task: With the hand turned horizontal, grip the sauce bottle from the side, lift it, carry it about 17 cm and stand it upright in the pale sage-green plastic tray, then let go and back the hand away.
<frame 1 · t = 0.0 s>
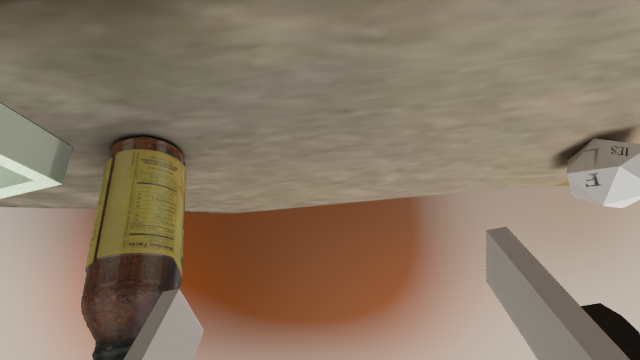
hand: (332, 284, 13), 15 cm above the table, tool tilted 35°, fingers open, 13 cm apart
sauce bottle: (151, 151, 29), on the table
die: (590, 146, 41), on the table
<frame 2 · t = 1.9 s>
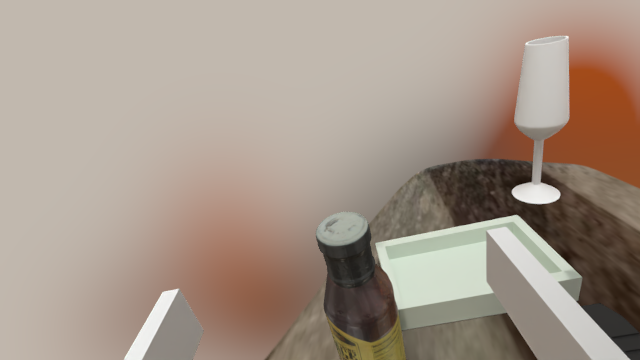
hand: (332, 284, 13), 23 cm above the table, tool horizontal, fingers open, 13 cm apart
tray: (463, 277, 41), on the table
champagne flute: (535, 193, 53), on the table
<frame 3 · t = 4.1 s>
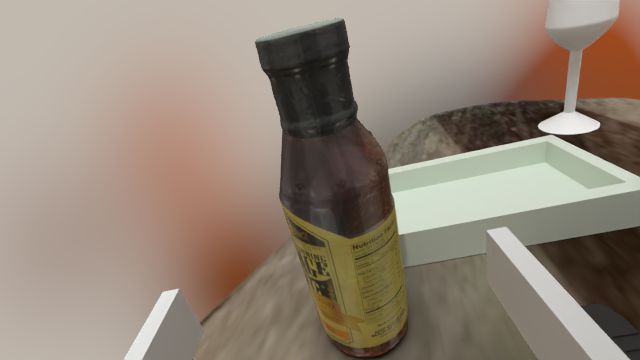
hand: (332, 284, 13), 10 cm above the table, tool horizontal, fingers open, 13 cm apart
sauce bottle: (368, 326, 23), on the table
tray: (482, 209, 31), on the table
champagne flute: (567, 126, 43), on the table
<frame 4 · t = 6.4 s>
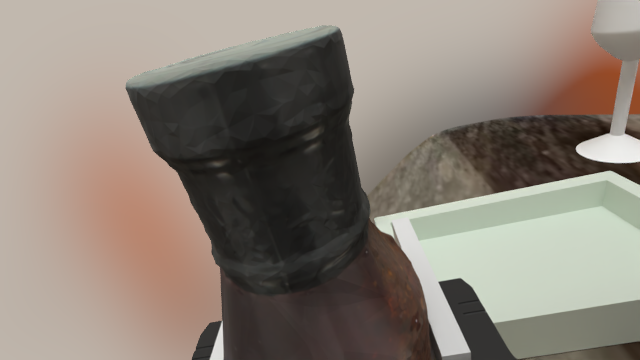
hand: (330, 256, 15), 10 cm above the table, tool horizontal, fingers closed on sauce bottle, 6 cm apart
tray: (527, 274, 23), on the table
champagne flute: (613, 151, 35), on the table
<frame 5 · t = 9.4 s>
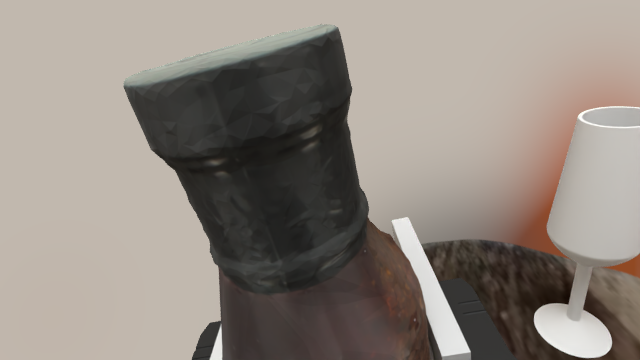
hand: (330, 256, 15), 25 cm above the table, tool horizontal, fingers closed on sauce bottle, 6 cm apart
champagne flute: (570, 329, 34), on the table
when the fingers open (12 cm above the table, at t = 12.5 s): sauce bottle drops 1 cm, resting on tray.
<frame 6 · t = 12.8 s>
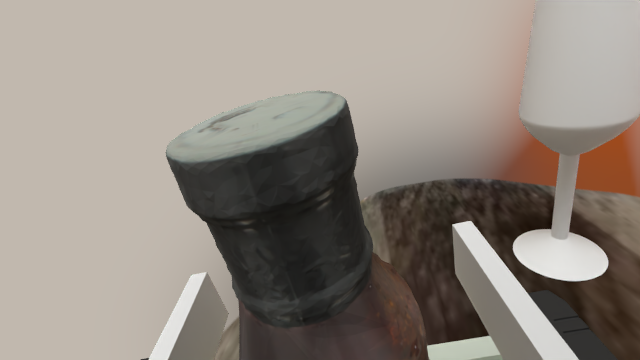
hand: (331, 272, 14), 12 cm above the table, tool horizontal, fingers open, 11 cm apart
champagne flute: (557, 254, 28), on the table
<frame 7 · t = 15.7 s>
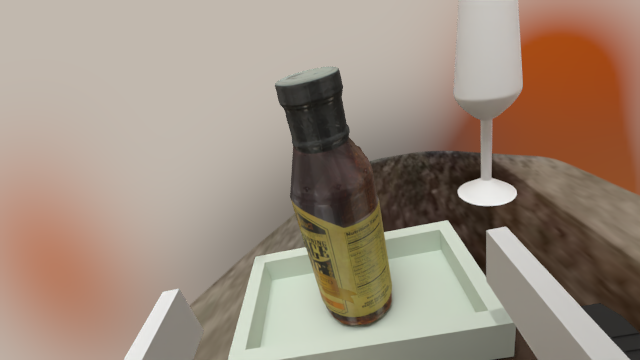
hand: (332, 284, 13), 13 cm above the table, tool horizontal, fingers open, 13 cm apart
sauce bottle: (360, 303, 28), point 1 cm above the table, touching tray
tray: (361, 310, 28), on the table
champagne flute: (486, 193, 40), on the table
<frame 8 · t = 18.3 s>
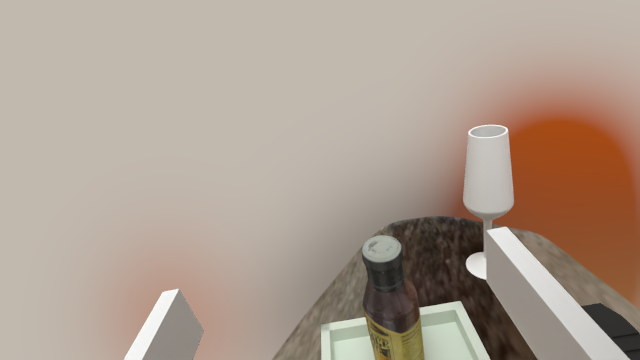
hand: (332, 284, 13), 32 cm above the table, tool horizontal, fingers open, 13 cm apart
champagne flute: (487, 266, 53), on the table
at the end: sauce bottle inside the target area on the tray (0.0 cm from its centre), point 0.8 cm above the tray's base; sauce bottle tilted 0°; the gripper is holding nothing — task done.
